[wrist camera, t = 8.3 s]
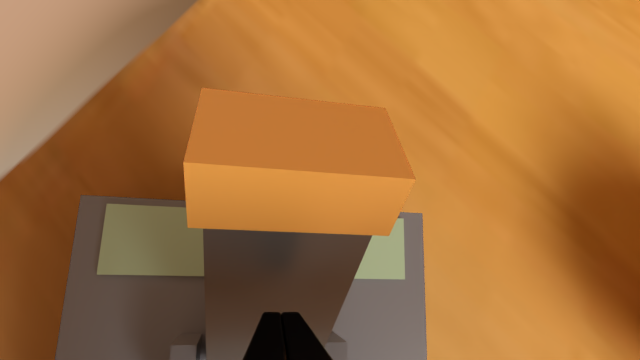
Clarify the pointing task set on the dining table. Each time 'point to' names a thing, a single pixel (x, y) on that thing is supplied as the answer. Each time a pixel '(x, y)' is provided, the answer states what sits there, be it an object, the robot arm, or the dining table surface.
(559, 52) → the dining table surface
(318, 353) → the robot arm
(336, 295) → the handle
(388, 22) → the dining table surface
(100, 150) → the dining table surface
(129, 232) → the switch base
